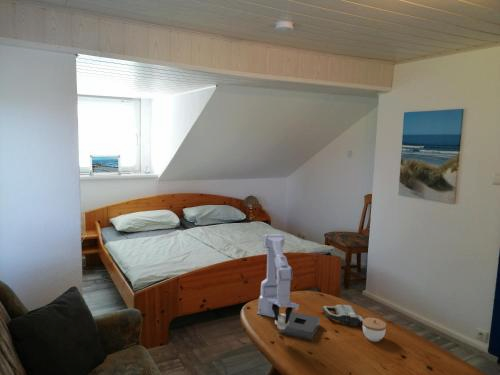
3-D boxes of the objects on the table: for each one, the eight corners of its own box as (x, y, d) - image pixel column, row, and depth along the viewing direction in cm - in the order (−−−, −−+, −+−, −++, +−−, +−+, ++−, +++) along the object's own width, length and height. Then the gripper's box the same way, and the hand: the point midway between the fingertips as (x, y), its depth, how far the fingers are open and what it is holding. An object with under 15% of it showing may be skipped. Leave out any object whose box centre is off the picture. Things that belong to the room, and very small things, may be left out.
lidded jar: (357, 333, 183) (358, 315, 182) (376, 331, 186) (378, 313, 184) (369, 345, 173) (370, 326, 171) (389, 343, 175) (391, 324, 174)
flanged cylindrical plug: (272, 328, 172) (273, 317, 171) (277, 322, 178) (277, 311, 177) (286, 332, 170) (287, 320, 169) (290, 325, 176) (291, 314, 175)
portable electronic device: (347, 309, 208) (348, 300, 208) (368, 328, 189) (368, 318, 188) (320, 312, 204) (320, 303, 203) (338, 331, 185) (339, 321, 184)
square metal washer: (279, 332, 181) (279, 324, 181) (288, 318, 196) (289, 310, 195) (311, 340, 175) (312, 332, 175) (319, 325, 190) (319, 317, 189)
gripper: (265, 293, 171) (264, 321, 172) (296, 299, 165) (294, 328, 167) (270, 287, 177) (269, 314, 179) (300, 293, 172) (299, 321, 173)
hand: (282, 321), depth 173 cm, fingers closed on flanged cylindrical plug, 4 cm apart
